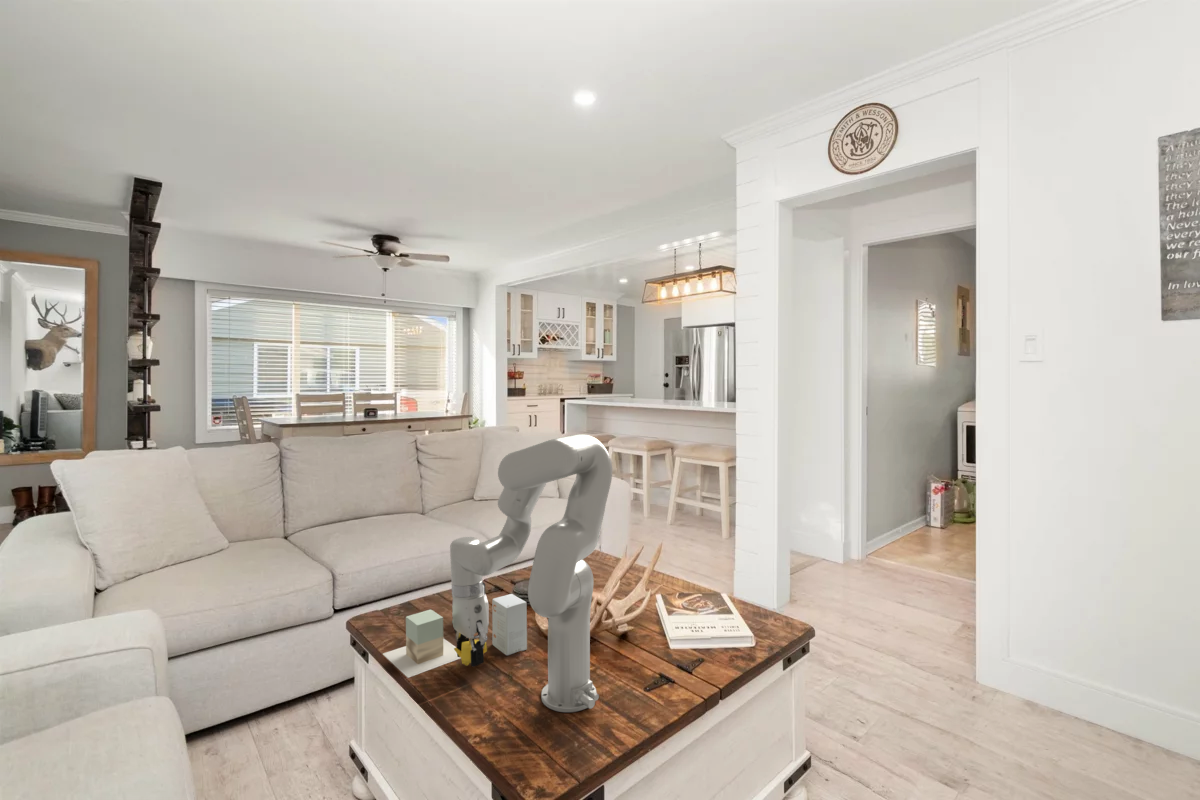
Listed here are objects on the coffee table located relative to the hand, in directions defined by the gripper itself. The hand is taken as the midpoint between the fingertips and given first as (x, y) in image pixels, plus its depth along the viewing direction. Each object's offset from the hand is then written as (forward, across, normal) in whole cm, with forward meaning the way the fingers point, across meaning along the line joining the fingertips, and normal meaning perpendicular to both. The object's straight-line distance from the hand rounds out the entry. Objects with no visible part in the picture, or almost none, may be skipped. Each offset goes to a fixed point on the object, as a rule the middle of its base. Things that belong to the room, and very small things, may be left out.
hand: (470, 659), depth 139 cm
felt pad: (+2, +14, +6) cm, 15 cm away
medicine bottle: (+2, +23, -14) cm, 27 cm away
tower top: (-3, +14, +5) cm, 15 cm away
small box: (+3, +3, -14) cm, 14 cm away
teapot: (+1, 0, 0) cm, 1 cm away
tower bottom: (+2, +14, +6) cm, 15 cm away
